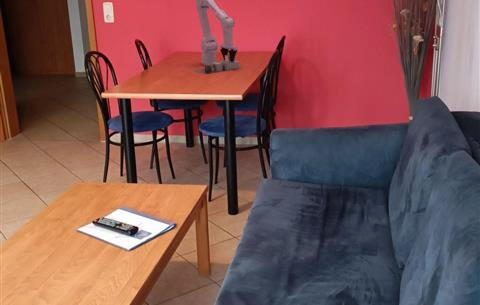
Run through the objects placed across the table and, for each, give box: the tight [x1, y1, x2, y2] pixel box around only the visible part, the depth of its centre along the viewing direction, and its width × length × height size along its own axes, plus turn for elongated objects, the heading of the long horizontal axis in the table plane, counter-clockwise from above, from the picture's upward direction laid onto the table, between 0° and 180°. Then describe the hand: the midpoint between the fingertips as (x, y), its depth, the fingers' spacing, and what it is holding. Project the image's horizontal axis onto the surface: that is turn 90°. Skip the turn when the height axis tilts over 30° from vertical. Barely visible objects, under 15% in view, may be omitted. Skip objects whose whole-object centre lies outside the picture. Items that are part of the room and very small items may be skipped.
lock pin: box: [204, 65, 216, 72], centre depth 347 cm, size 3×11×4 cm, turn 127°
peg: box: [224, 54, 231, 63], centre depth 353 cm, size 4×4×8 cm
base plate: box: [192, 67, 242, 75], centre depth 351 cm, size 16×26×1 cm, turn 127°
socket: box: [218, 60, 240, 71], centre depth 353 cm, size 9×9×4 cm
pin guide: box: [211, 61, 223, 71], centre depth 348 cm, size 6×4×4 cm
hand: (228, 60), depth 353 cm, fingers open, 6 cm apart
